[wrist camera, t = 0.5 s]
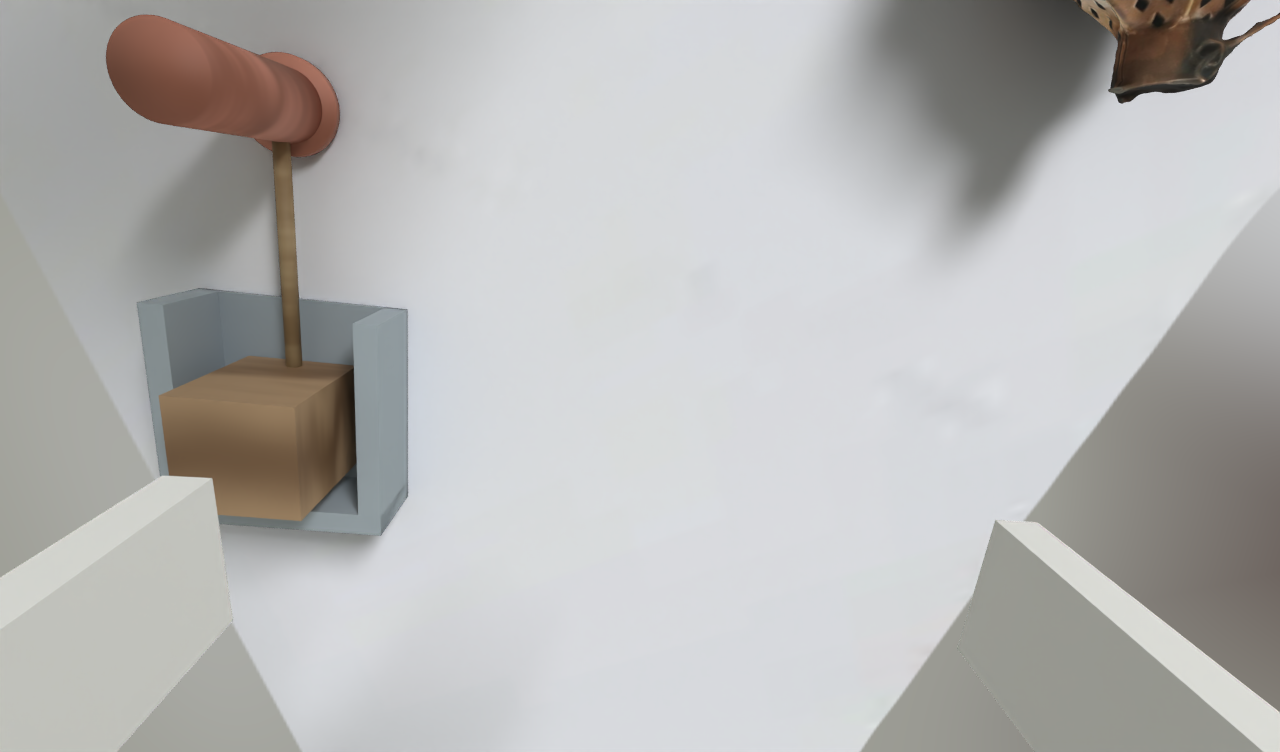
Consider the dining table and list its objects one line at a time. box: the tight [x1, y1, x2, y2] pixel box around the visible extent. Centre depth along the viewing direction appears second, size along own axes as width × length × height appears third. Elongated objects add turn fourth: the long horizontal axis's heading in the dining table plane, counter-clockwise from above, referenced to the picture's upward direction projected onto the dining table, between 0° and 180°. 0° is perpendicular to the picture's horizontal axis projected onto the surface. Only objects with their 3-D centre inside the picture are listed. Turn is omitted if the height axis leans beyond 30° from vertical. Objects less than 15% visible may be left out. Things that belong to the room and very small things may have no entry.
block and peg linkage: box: [106, 15, 357, 521], centre depth 28 cm, size 22×6×9 cm, turn 174°
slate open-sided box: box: [137, 288, 408, 536], centre depth 33 cm, size 12×11×4 cm
